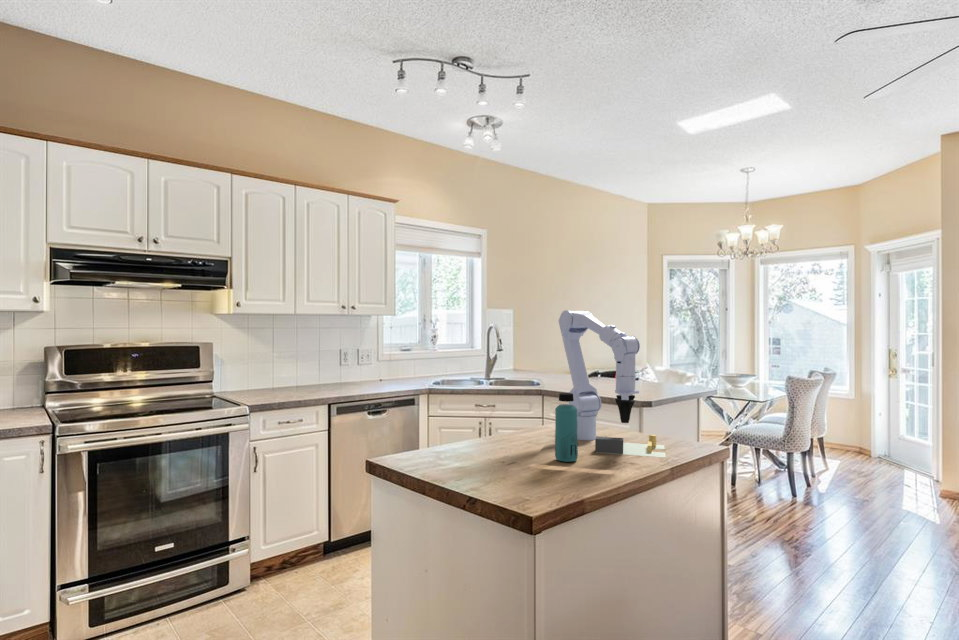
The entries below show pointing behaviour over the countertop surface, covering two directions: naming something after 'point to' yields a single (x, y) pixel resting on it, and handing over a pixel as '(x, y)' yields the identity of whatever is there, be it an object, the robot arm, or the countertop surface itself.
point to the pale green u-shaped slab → (643, 448)
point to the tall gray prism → (609, 445)
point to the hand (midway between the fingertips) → (625, 420)
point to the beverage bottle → (566, 429)
